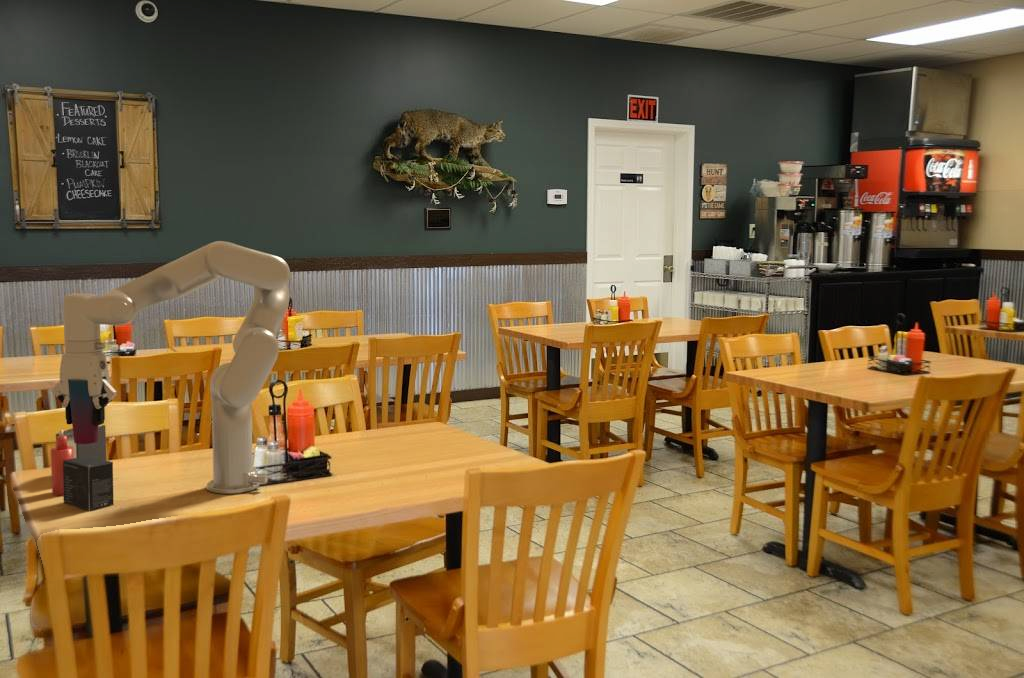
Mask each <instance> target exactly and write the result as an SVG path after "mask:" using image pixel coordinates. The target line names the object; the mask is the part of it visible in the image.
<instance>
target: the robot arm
mask: <svg viewBox="0 0 1024 678" xmlns="http://www.w3.org/2000/svg"><path fill="white" fill-rule="evenodd" d="M221 278H223V279H228V280H231V281H233V282H237V283H242V284H245V285H249V286H252V287H254V298H253V301H252V303H251V305H250V308H249V310H248V312H247V314H246V316H245V318H244V320H243V321H242V323H241V326H240V327H239V329H238V330H237V332H236V334H235V335H234V338H233V341H232V348H233V351H234V355H233V356H232V360H231V361H230V362H225V363H222V364H220V365H219V366H217V367H216V368H215V369H214V370H213V372H212V374H211V377H210V378H209V379H210V380H209V393H210V402H211V403H210V404H211V415H212V416H211V420H212V422H211V423H212V424H211V425H212V437H211V438H212V467H213V468H212V475H213V476H212V478H213V479H212V480H209V482H207V483H206V489H207V490H208V491H210V492H211V493H215V494H225V495H226V494H231V495H233V494H240V493H241V494H242V493H246V492H250V491H253V490H255V489H257V488H258V487H259V486H260V484H267V483H268V480H269V479H268V478H269V477H268V475H267V473H258V472H257V467H255V466H253V464H254V463H253V461H254V460H253V413H252V412H253V411H252V403H253V402H254V401H255V400H256V398H257V397H258V396H259V394H260V393H261V390H262V389H263V386H264V385H265V383H266V381H267V379H268V378H269V376H270V374H271V371H272V370H273V368H274V366H275V364H276V362H277V359H278V356H279V350H280V343H279V340H278V338H277V336H276V335H277V334H278V331H279V330H280V328H281V326H282V323H283V320H284V318H285V316H286V313H287V312H288V309H289V303H290V291H289V290H290V289H289V284H288V282H289V280H290V278H291V270H290V267H289V265H288V263H287V261H285V259H283V258H282V257H280V256H277V255H274V254H271V253H267V252H263V251H261V250H260V251H259V250H256V249H252V248H249V247H245V246H242V245H239V244H236V243H233V242H229V241H223V240H217V241H213V242H210V243H208V244H206V245H204V246H201V247H200V248H197V249H195V250H192V252H189V253H187V254H186V255H183V256H181V257H179V258H176V259H174V260H172V261H170V262H167V263H166V264H164V265H162V266H160V267H158V268H156V269H154V270H152V271H150V272H147V273H146V274H144V275H141V276H139V277H136V278H135V279H132V280H130V281H128V282H126V283H123V284H122V285H119V286H117V287H116V288H113V289H111V290H109V291H108V292H105V294H103V295H97V294H95V293H83V292H81V293H80V292H79V293H77V292H76V293H69V294H67V295H65V296H64V298H63V301H62V310H63V311H62V312H63V314H62V315H63V342H64V352H63V353H62V354H61V355H62V356H61V358H60V359H61V360H60V365H59V366H60V368H59V381H58V383H57V384H56V385H55V386H54V387H53V388H52V389H51V393H53V395H54V396H56V398H57V400H58V401H59V402H60V403H61V404H62V407H64V409H65V410H64V411H65V412H64V413H65V420H66V425H72V416H71V407H70V397H69V386H68V379H69V380H75V381H84V380H88V391H89V396H91V397H93V402H94V405H95V407H96V408H95V409H94V410H93V422H94V426H98V425H99V426H102V425H104V424H105V419H106V411H105V409H106V407H107V405H108V404H109V403H111V401H112V399H113V398H115V396H117V395H118V392H117V390H116V389H115V388H114V387H113V386H112V385H111V379H110V371H109V364H108V361H107V360H108V359H107V357H106V354H105V352H102V350H104V349H106V343H103V342H102V340H101V325H105V326H106V325H107V326H114V327H115V326H116V327H117V326H119V327H121V326H126V325H129V324H130V323H132V321H133V320H134V319H135V318H136V315H137V313H140V312H141V311H143V310H145V309H148V308H150V307H152V306H154V305H157V304H159V303H163V302H166V301H171V300H176V299H180V298H183V297H185V296H188V295H190V294H192V293H193V292H195V291H198V289H201V288H203V287H205V286H207V285H209V284H211V283H213V282H215V281H217V280H219V279H221ZM104 395H105V396H104ZM98 397H99V398H98ZM99 426H98V427H99Z"/></svg>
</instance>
